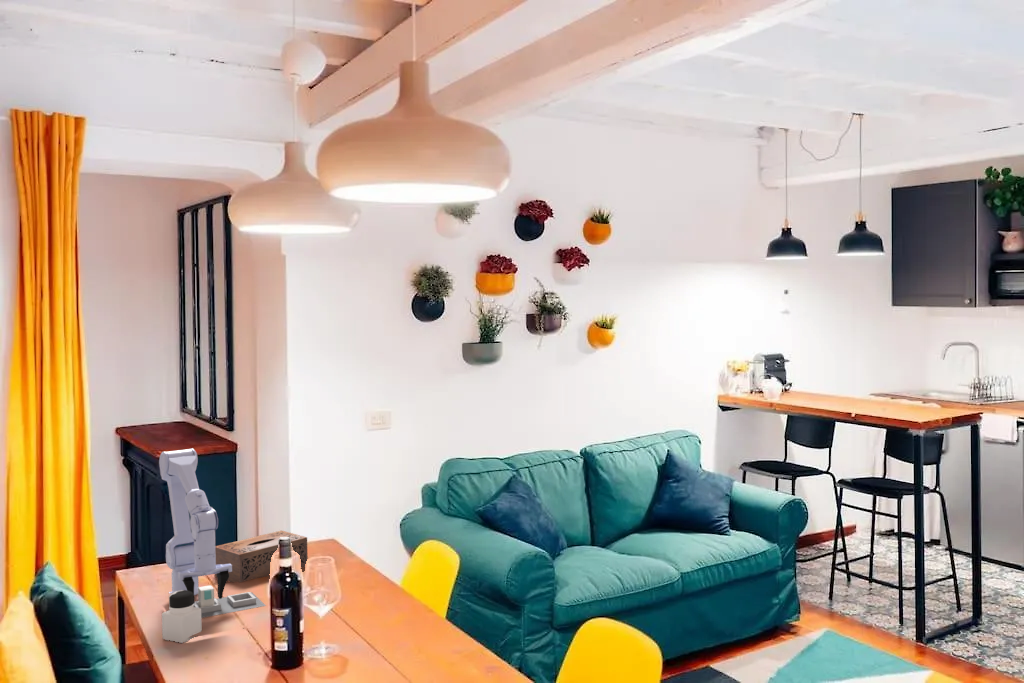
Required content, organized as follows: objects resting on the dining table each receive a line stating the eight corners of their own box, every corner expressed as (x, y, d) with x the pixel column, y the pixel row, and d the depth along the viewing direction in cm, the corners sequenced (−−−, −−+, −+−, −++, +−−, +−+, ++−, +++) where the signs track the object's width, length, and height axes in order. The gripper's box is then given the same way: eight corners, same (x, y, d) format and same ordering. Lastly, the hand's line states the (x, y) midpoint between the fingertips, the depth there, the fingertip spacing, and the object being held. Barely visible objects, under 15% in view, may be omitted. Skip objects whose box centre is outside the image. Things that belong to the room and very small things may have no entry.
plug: (198, 608, 259) (197, 587, 259) (211, 605, 261) (210, 585, 261) (202, 612, 255) (201, 591, 255) (215, 609, 257) (214, 589, 257)
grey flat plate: (182, 608, 262) (182, 599, 262) (252, 595, 272) (252, 587, 272) (194, 622, 250) (193, 613, 250) (265, 609, 261) (265, 600, 260)
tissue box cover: (240, 586, 282) (239, 554, 282) (214, 577, 292) (213, 546, 291) (307, 567, 302) (307, 537, 301) (281, 559, 311) (281, 530, 311)
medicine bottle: (202, 634, 242) (201, 590, 241) (182, 643, 235) (181, 598, 234) (182, 630, 245) (181, 586, 244) (161, 639, 238) (160, 594, 237)
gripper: (181, 560, 251) (182, 609, 251) (234, 552, 258) (235, 599, 259) (176, 554, 257) (177, 601, 257) (228, 546, 264) (229, 592, 265)
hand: (206, 600), depth 258 cm, fingers open, 7 cm apart
